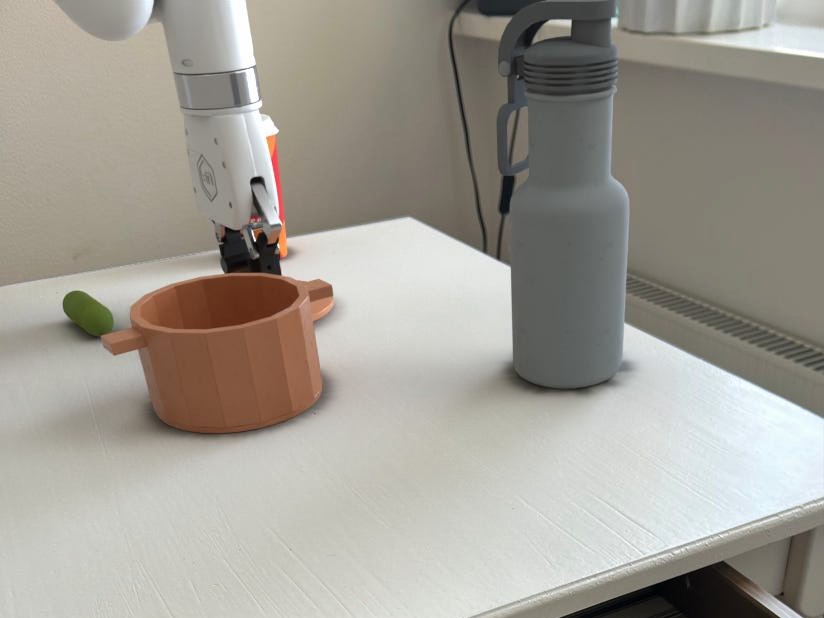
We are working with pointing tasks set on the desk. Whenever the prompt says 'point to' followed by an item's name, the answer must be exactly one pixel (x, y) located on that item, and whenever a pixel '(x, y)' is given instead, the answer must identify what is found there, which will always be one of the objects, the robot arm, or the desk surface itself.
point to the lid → (240, 260)
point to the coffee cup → (271, 142)
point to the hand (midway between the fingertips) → (254, 286)
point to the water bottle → (565, 196)
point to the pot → (227, 350)
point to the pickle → (88, 313)
